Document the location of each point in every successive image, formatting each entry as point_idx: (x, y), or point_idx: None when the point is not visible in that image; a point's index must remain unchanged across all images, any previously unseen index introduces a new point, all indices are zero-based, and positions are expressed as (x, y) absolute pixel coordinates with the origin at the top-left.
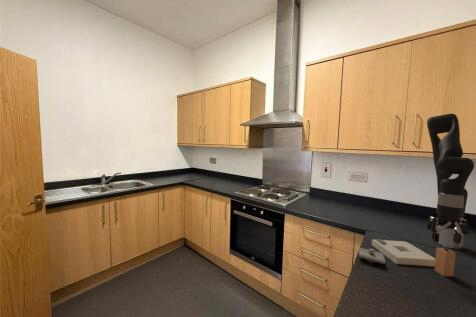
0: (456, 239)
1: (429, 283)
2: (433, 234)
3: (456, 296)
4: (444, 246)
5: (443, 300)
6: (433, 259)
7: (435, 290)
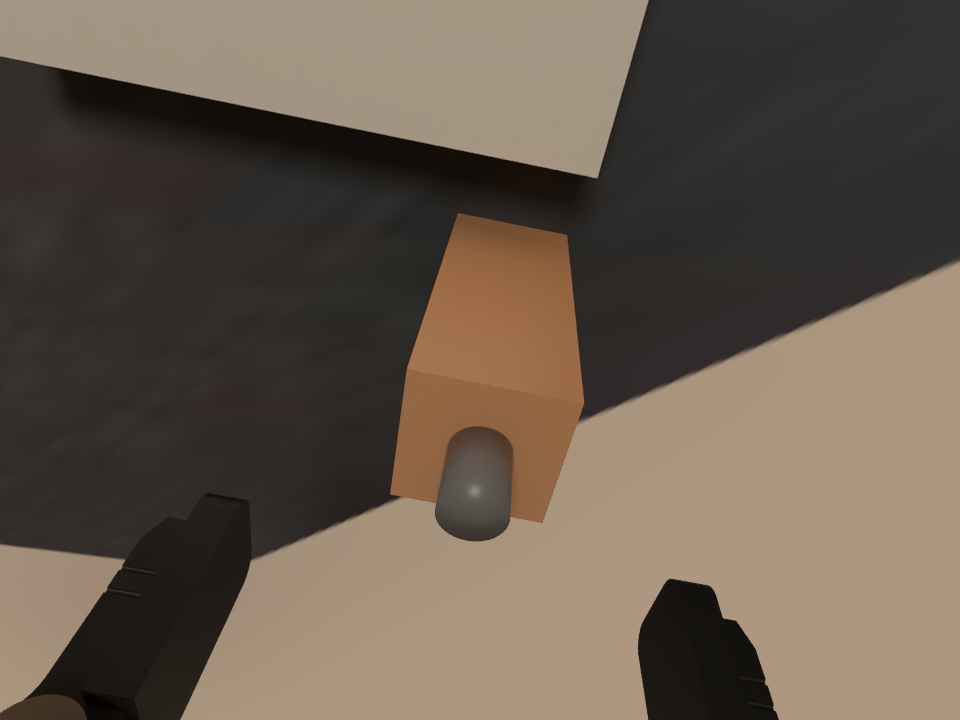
0: (666, 692)
1: (187, 377)
2: (92, 657)
3: (269, 493)
4: (438, 498)
5: (140, 502)
6: (546, 154)
7: (166, 438)
